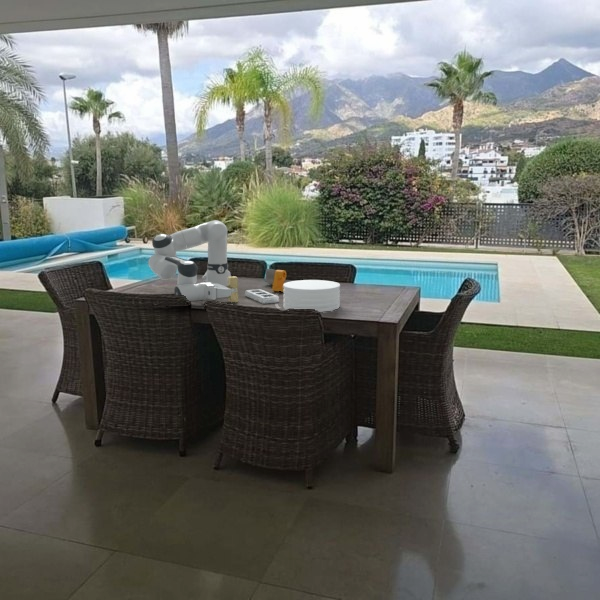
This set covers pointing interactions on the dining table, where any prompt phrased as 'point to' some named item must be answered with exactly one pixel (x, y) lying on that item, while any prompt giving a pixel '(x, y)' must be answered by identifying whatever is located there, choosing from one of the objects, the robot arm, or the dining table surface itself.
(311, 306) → the plate stack
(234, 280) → the peg
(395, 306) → the dining table surface
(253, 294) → the white power strip
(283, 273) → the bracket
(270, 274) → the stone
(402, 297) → the dining table surface
